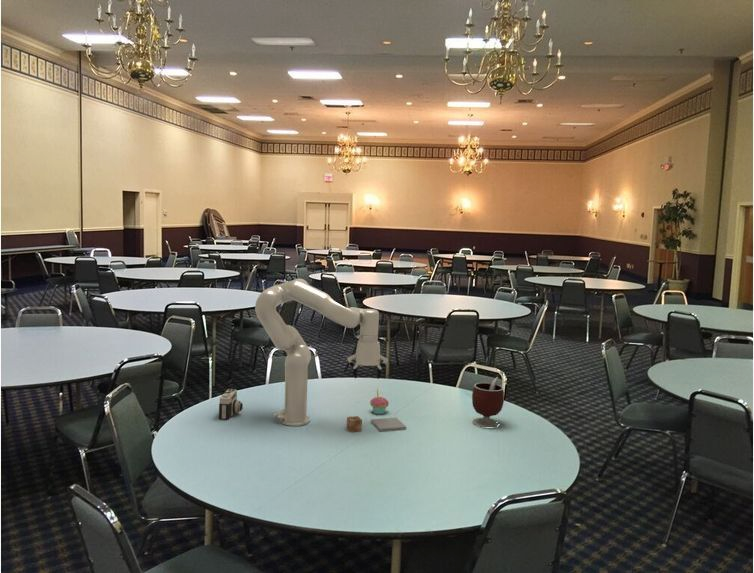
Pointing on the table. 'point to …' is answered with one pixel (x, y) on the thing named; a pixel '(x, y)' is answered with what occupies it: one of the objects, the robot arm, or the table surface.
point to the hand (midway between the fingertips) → (366, 377)
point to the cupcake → (379, 404)
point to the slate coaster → (388, 424)
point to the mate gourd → (487, 402)
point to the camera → (229, 404)
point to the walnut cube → (354, 424)
